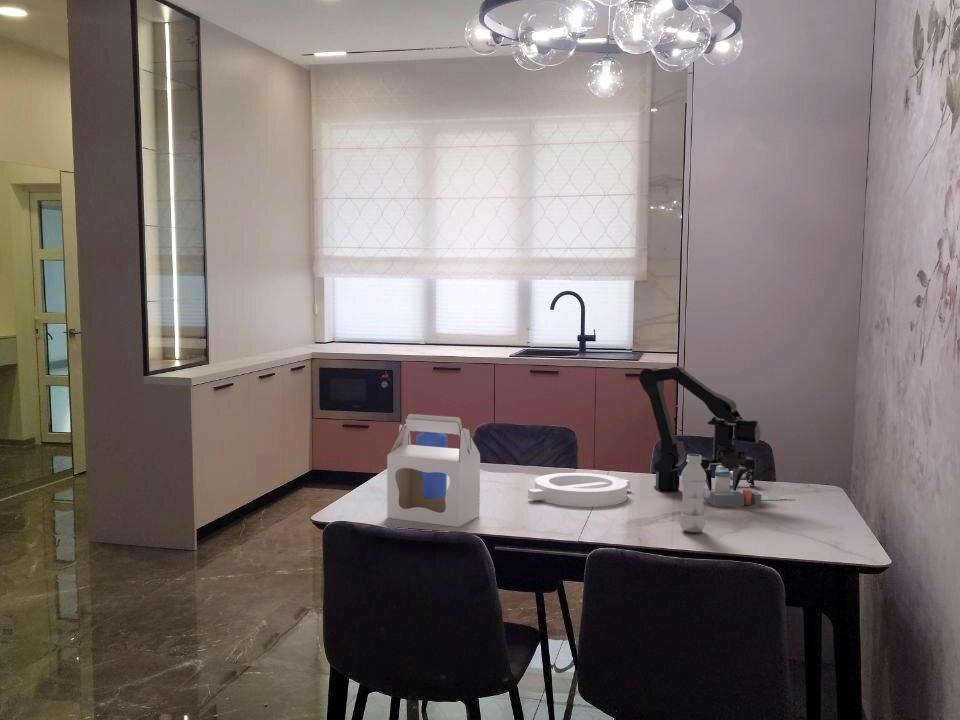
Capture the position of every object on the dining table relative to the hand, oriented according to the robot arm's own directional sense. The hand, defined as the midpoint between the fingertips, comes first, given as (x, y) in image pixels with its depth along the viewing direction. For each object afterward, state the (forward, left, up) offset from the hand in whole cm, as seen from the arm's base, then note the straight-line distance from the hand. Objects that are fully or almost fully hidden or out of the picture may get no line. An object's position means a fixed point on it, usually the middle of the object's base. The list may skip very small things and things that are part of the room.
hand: (722, 490), depth 259 cm
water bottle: (-89, +1, -2) cm, 89 cm away
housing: (0, -3, -2) cm, 3 cm away
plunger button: (+4, -10, -2) cm, 11 cm away
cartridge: (0, 0, -2) cm, 2 cm away
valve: (+11, +17, -2) cm, 20 cm away
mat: (+15, 0, -2) cm, 15 cm away
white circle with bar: (-43, +4, -3) cm, 43 cm away
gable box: (-89, -20, -2) cm, 91 cm away
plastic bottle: (-23, -39, -2) cm, 45 cm away
